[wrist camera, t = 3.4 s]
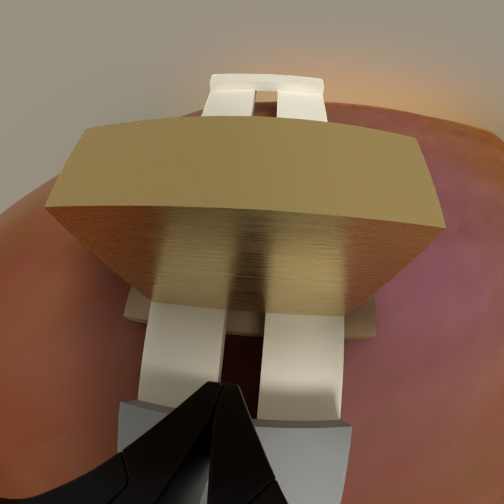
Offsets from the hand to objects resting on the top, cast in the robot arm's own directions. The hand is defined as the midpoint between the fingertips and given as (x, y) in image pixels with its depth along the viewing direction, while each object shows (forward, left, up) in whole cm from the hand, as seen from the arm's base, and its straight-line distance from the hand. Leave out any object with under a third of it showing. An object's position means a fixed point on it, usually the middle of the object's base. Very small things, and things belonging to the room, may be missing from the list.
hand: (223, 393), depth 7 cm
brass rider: (+4, -7, -5) cm, 10 cm away
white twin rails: (+4, -8, -6) cm, 11 cm away
